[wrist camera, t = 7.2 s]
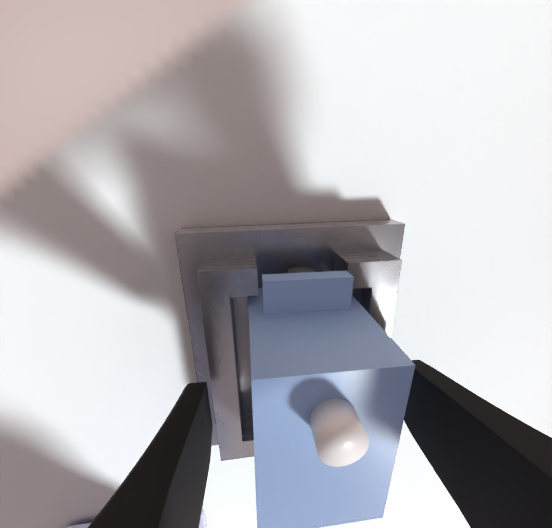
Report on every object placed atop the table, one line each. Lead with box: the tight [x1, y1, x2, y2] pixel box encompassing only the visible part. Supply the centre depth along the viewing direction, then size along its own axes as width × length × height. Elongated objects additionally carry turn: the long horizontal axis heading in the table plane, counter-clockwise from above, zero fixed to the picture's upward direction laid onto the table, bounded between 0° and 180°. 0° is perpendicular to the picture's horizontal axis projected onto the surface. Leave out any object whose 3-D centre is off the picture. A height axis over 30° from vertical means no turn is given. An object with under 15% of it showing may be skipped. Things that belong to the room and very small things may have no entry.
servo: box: [248, 267, 415, 528], centre depth 9 cm, size 8×4×6 cm, turn 0°
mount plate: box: [175, 220, 405, 461], centre depth 12 cm, size 11×9×2 cm
